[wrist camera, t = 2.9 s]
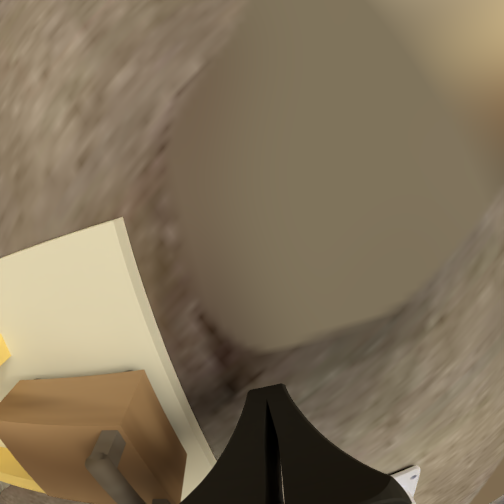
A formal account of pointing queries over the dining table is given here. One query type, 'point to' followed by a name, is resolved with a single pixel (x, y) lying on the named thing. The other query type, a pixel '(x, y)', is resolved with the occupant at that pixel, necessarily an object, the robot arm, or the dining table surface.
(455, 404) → the dining table surface
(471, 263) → the dining table surface
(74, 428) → the wooden block with handle
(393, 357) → the dining table surface
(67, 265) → the dock
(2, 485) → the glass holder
